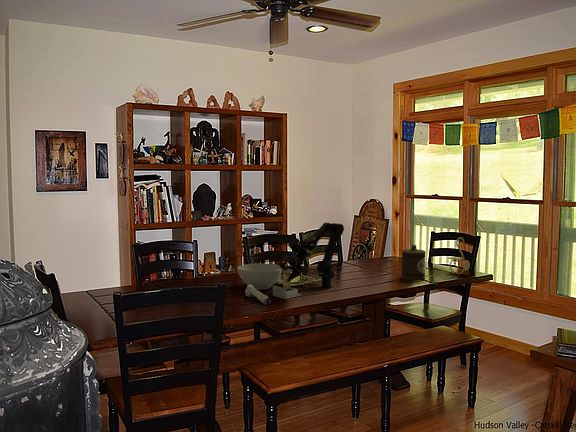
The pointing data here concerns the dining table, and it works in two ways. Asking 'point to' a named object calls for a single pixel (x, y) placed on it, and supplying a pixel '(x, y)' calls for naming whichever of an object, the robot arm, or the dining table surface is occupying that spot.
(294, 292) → the grey rectangular box
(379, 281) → the dining table surface
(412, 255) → the wooden container
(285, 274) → the cream cylinder
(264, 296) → the grey pestle
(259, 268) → the decorative bowl
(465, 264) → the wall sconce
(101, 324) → the dining table surface
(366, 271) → the dining table surface
